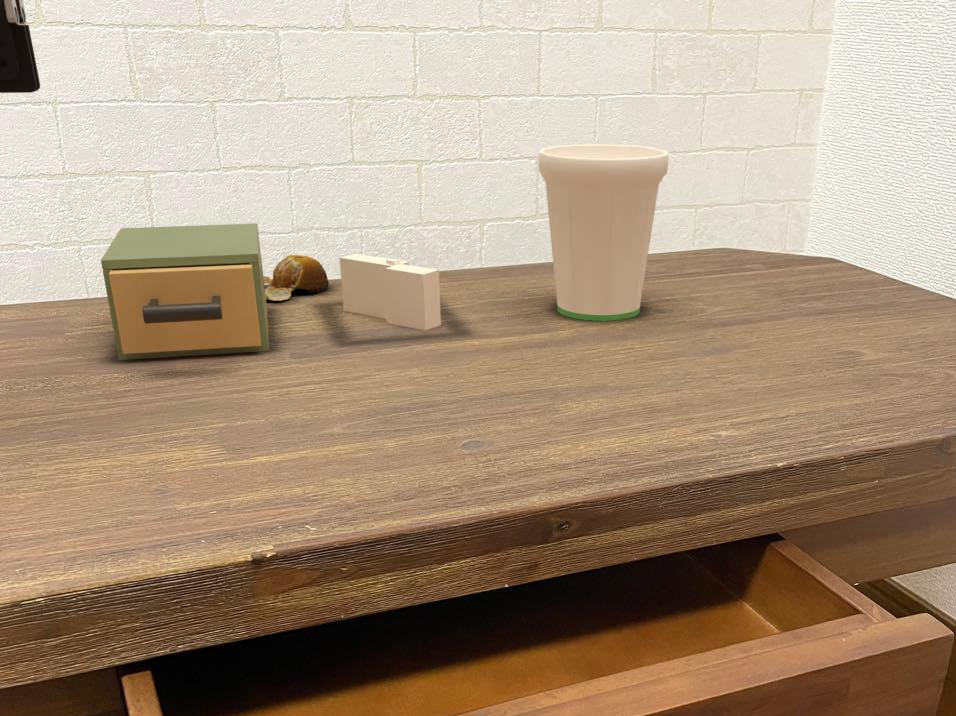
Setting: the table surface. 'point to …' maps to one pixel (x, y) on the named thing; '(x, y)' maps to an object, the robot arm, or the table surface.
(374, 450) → the table surface
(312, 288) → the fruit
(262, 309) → the cabinet
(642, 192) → the cup
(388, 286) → the napkin holder
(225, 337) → the drawer
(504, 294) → the table surface
